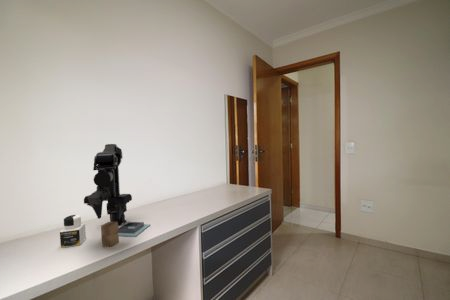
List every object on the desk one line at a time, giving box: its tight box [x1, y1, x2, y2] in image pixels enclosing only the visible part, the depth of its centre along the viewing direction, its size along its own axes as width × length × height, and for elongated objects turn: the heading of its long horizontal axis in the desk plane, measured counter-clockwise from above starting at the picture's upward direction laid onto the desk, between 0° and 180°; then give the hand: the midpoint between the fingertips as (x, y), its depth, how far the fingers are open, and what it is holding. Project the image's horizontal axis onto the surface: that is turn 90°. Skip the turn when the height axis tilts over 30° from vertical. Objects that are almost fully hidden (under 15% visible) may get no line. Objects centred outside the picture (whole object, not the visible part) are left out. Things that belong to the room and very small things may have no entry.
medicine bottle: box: [59, 214, 87, 249], centre depth 91 cm, size 7×7×12 cm
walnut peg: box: [100, 221, 120, 248], centre depth 88 cm, size 4×4×9 cm
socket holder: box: [118, 221, 151, 238], centre depth 102 cm, size 13×13×3 cm
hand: (109, 218), depth 88 cm, fingers open, 9 cm apart
